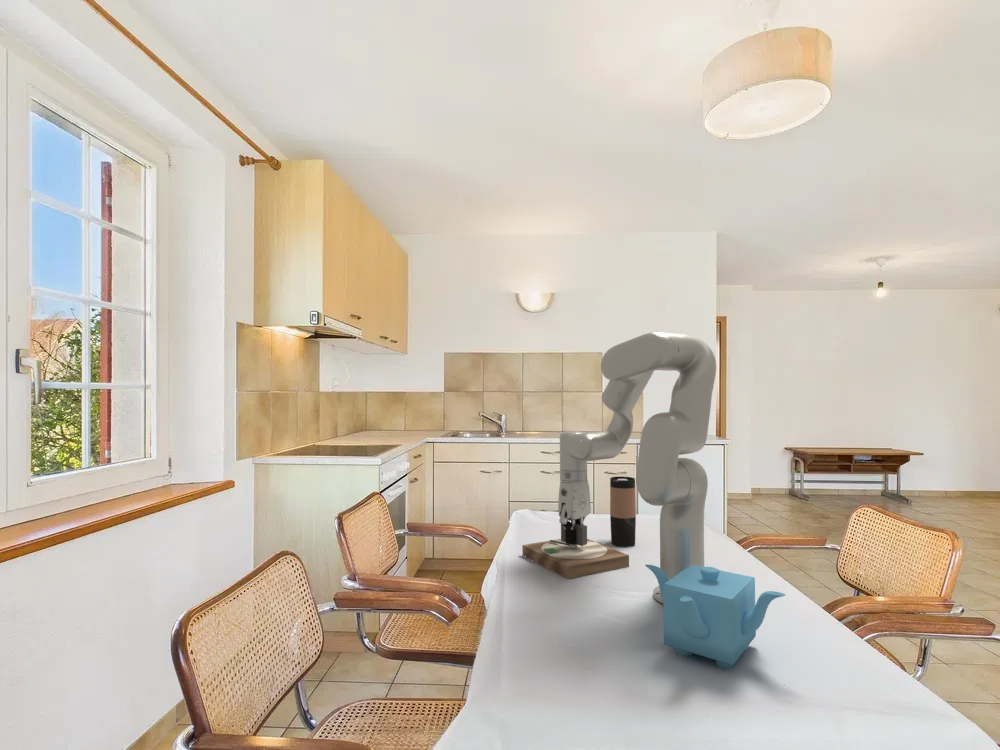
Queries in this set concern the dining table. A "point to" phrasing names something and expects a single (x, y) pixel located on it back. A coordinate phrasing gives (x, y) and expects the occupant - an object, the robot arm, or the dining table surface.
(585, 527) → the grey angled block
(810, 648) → the dining table surface
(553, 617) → the dining table surface
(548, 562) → the brown wooden flat block
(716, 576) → the teakettle
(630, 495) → the travel mug
